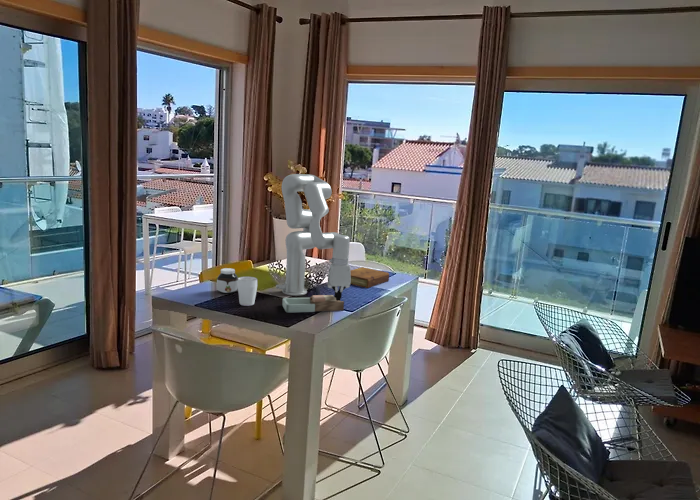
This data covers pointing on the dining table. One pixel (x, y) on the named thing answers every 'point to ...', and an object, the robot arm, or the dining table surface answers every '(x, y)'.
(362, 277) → the diary
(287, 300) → the box
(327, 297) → the maple tile
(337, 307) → the bench plate
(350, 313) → the dining table surface
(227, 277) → the spread jar
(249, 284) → the cup
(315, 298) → the terracotta tile
